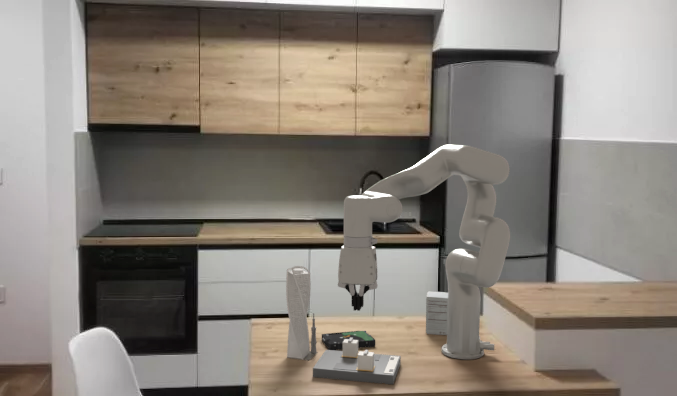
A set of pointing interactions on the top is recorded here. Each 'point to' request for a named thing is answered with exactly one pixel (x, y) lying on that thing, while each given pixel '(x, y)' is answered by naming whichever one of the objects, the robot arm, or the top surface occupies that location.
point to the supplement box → (436, 313)
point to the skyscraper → (299, 314)
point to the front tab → (365, 360)
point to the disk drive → (336, 339)
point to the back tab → (350, 347)
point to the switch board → (346, 368)
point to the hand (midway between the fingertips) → (357, 309)
